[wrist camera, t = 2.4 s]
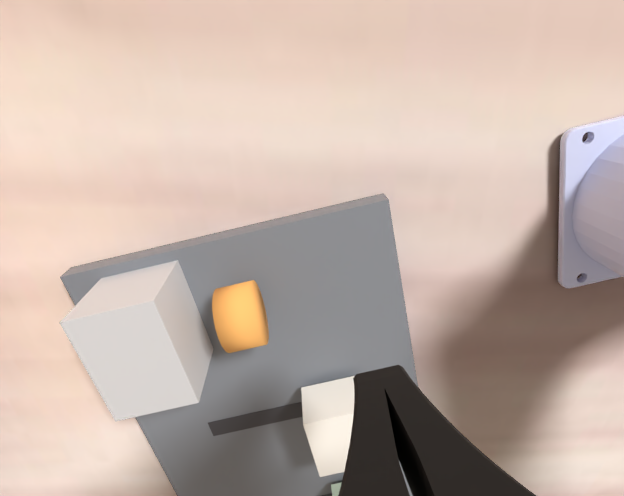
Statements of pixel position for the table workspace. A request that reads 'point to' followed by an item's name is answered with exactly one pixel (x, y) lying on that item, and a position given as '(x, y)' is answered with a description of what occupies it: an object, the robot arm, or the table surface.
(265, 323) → the orange button
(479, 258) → the table surface
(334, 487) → the sage slider
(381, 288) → the control panel
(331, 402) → the off-white slider
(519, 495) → the robot arm
